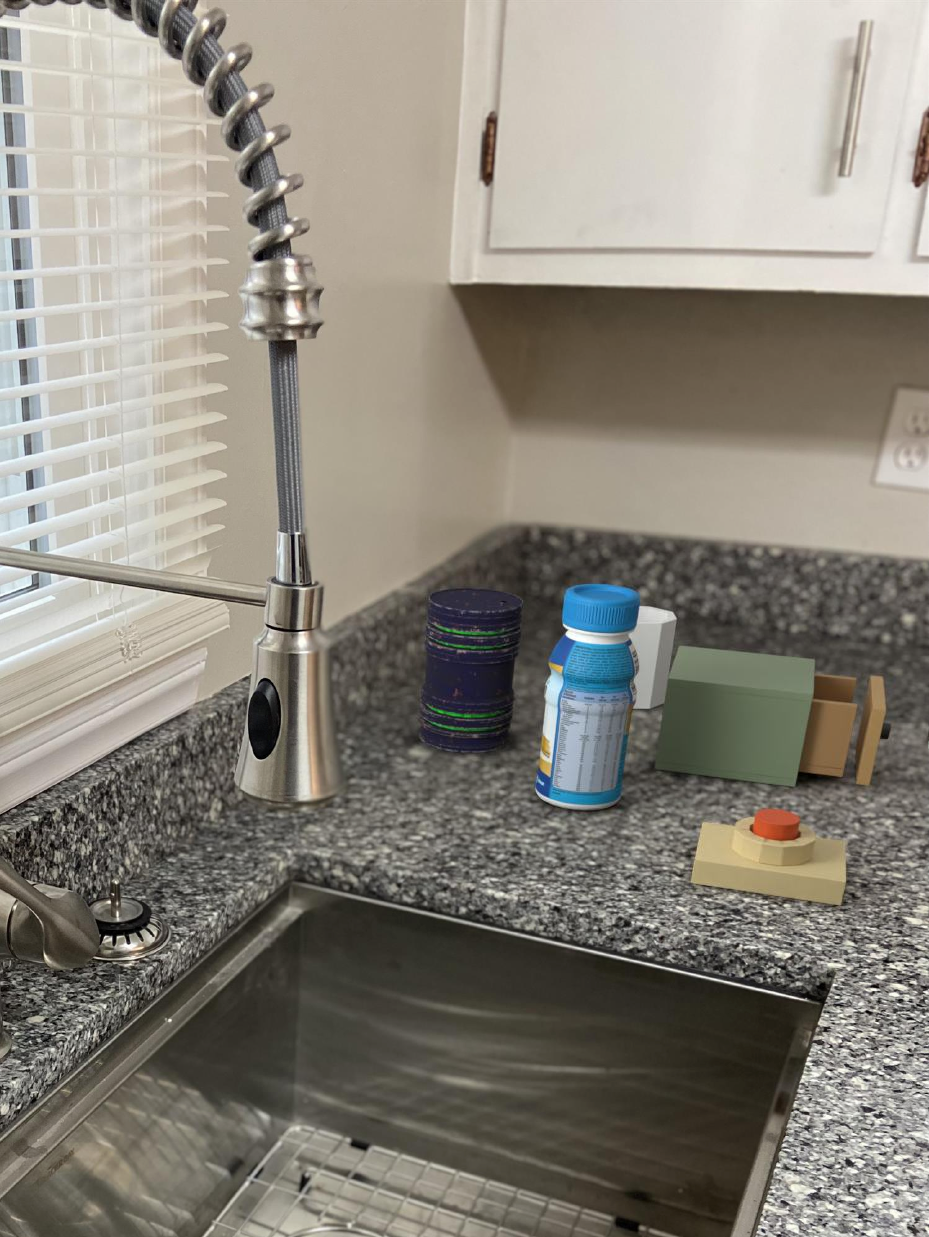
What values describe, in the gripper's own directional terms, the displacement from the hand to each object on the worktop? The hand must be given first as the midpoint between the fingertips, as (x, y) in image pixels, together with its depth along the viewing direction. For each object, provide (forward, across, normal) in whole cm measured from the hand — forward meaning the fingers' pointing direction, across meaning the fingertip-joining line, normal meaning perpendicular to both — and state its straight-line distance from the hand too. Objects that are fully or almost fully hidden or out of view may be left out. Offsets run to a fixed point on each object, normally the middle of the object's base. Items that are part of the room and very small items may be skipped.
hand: (928, 737), depth 141 cm
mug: (+32, +19, -6) cm, 38 cm away
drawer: (+10, +2, -5) cm, 11 cm away
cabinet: (+18, +2, -6) cm, 19 cm away
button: (+13, -27, -2) cm, 30 cm away
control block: (+13, -27, -5) cm, 30 cm away
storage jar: (+45, -2, -6) cm, 45 cm away
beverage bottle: (+31, -15, -6) cm, 35 cm away
